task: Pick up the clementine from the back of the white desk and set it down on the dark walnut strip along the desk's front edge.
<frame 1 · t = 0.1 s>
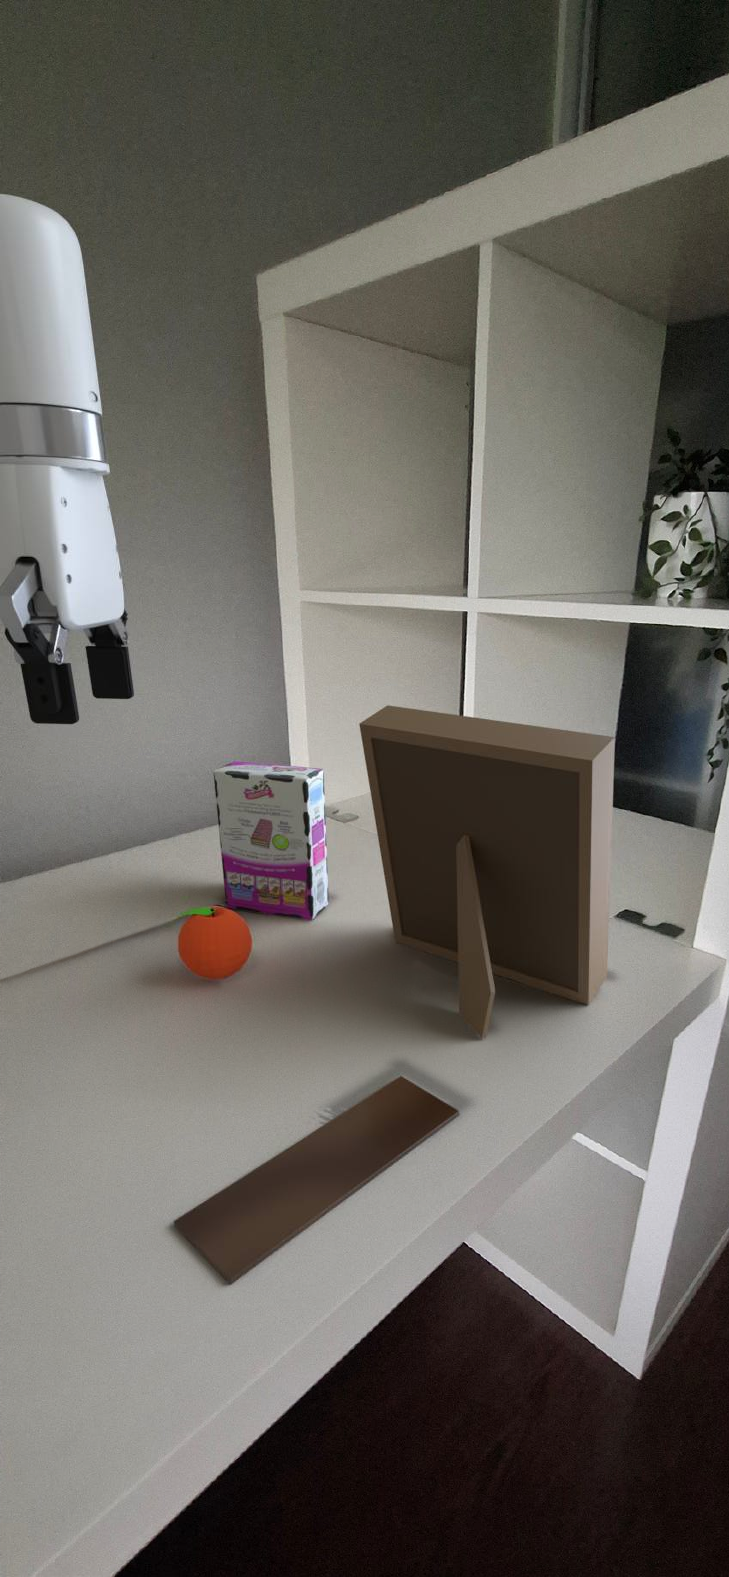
hand: (87, 709, 58), 27 cm above the table, tool pointing down, fingers open, 9 cm apart
edge strip: (329, 1165, 52), on the table
candy bar box: (277, 908, 90), on the table
clementine: (213, 976, 76), on the table
photo frame: (468, 986, 74), on the table
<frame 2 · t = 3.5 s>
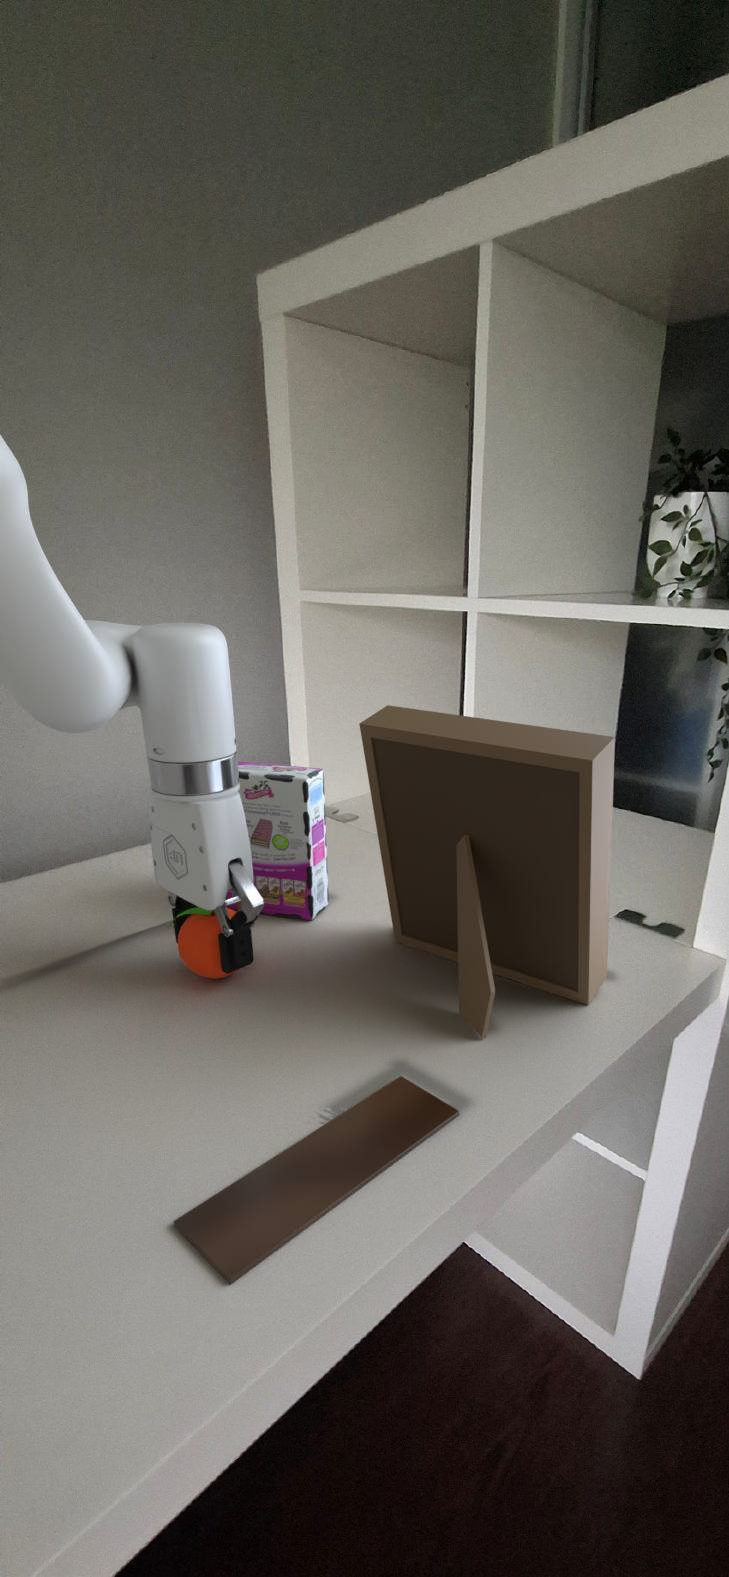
hand: (214, 952, 75), 2 cm above the table, tool pointing down, fingers closed on clementine, 7 cm apart
clementine: (213, 975, 76), on the table, touching gripper
everything else where it was.
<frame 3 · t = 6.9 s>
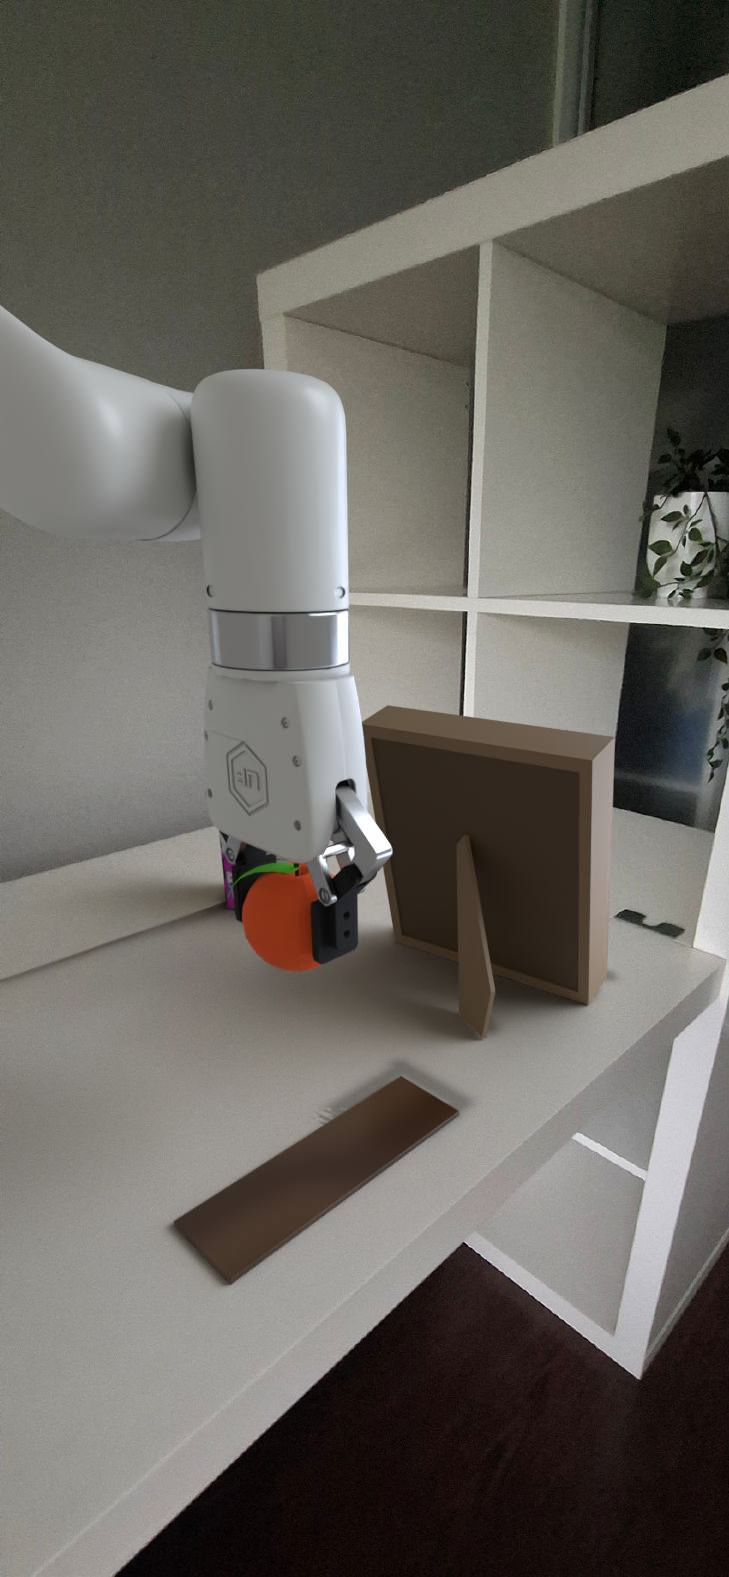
hand: (295, 933, 49), 16 cm above the table, tool pointing down, fingers closed on clementine, 7 cm apart
clementine: (291, 966, 51), point 13 cm above the table, touching gripper
everything else where it was.
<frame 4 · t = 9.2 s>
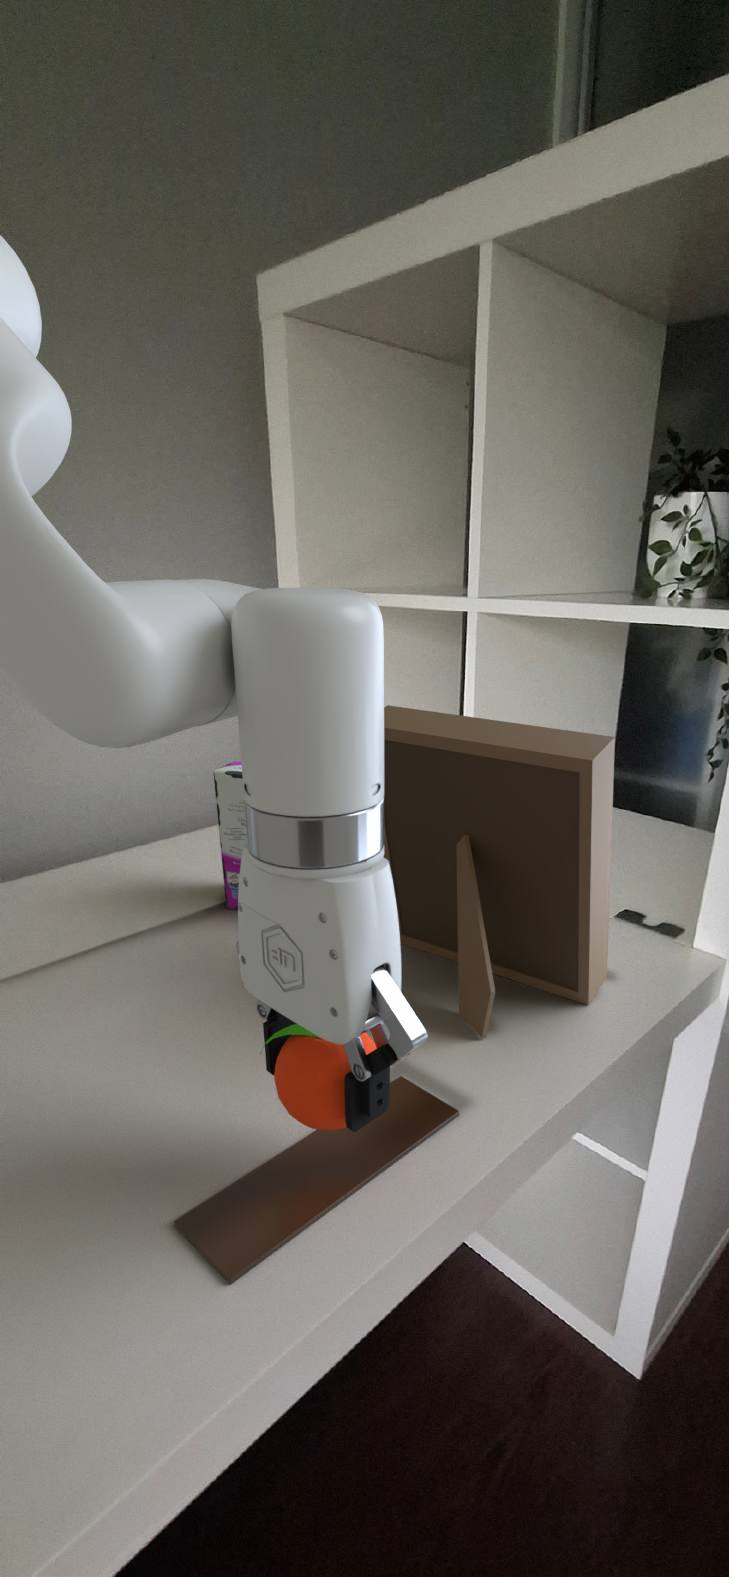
hand: (326, 1089, 50), 6 cm above the table, tool pointing down, fingers closed on clementine, 7 cm apart
clementine: (322, 1118, 51), point 4 cm above the table, touching gripper
everything else where it was.
when the fingers open (3 cm above the table, at t = 10.7 s): clementine stays where it is, resting on edge strip.
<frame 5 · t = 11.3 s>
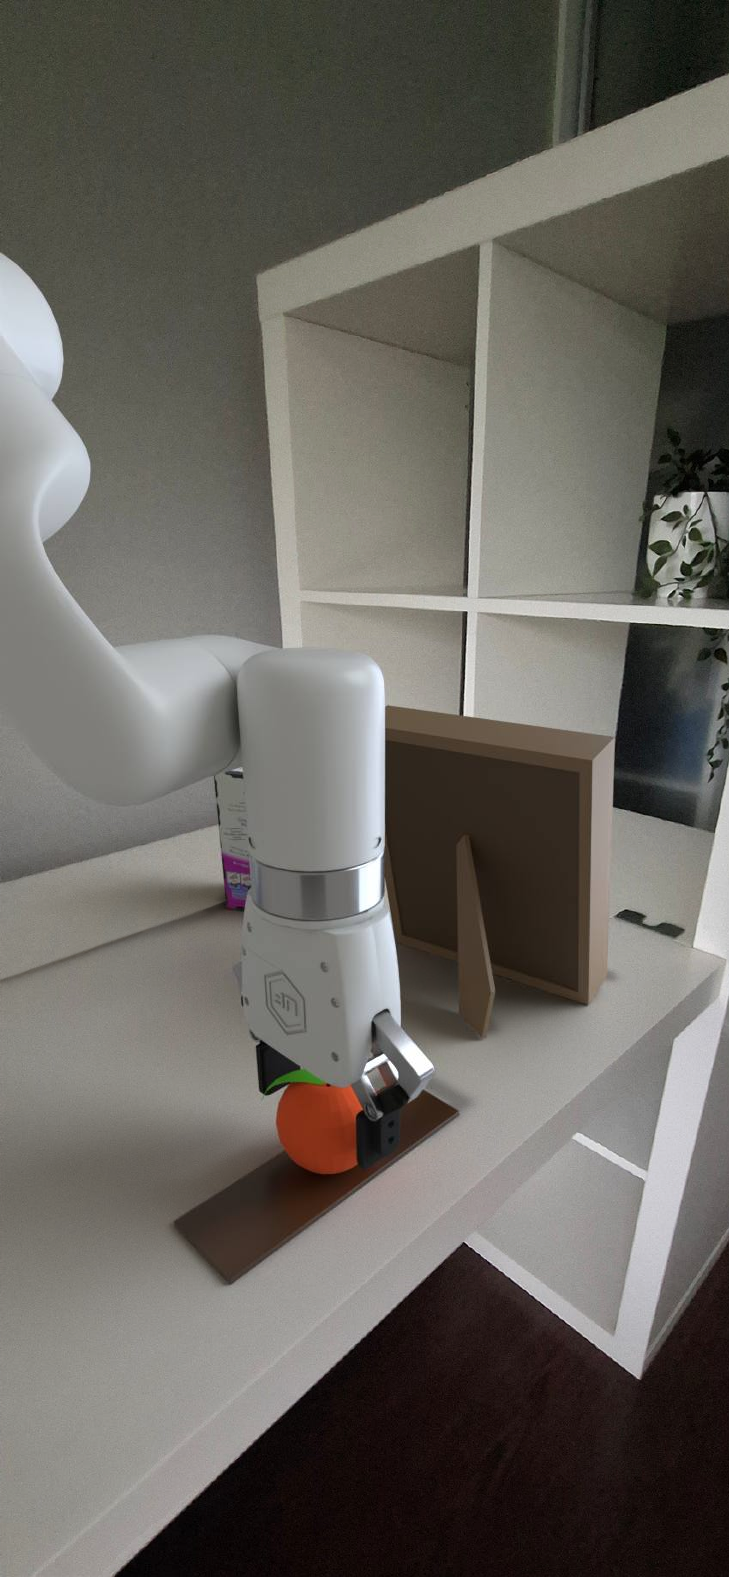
hand: (326, 1118, 51), 4 cm above the table, tool pointing down, fingers open, 9 cm apart
clementine: (323, 1160, 52), resting on edge strip
everything else where it was.
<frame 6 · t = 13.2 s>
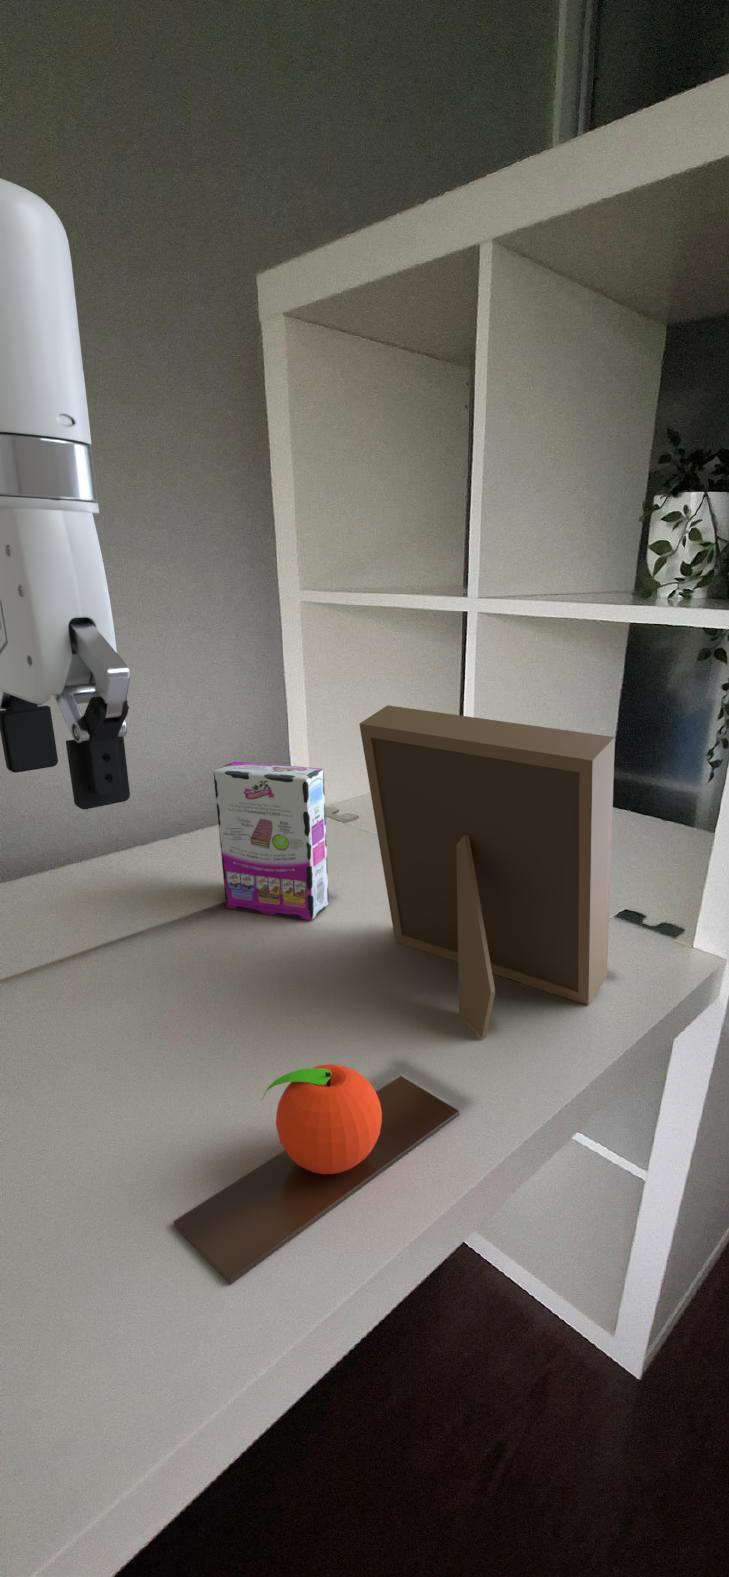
hand: (66, 785, 49), 24 cm above the table, tool pointing down, fingers open, 9 cm apart
nothing on the table moved.
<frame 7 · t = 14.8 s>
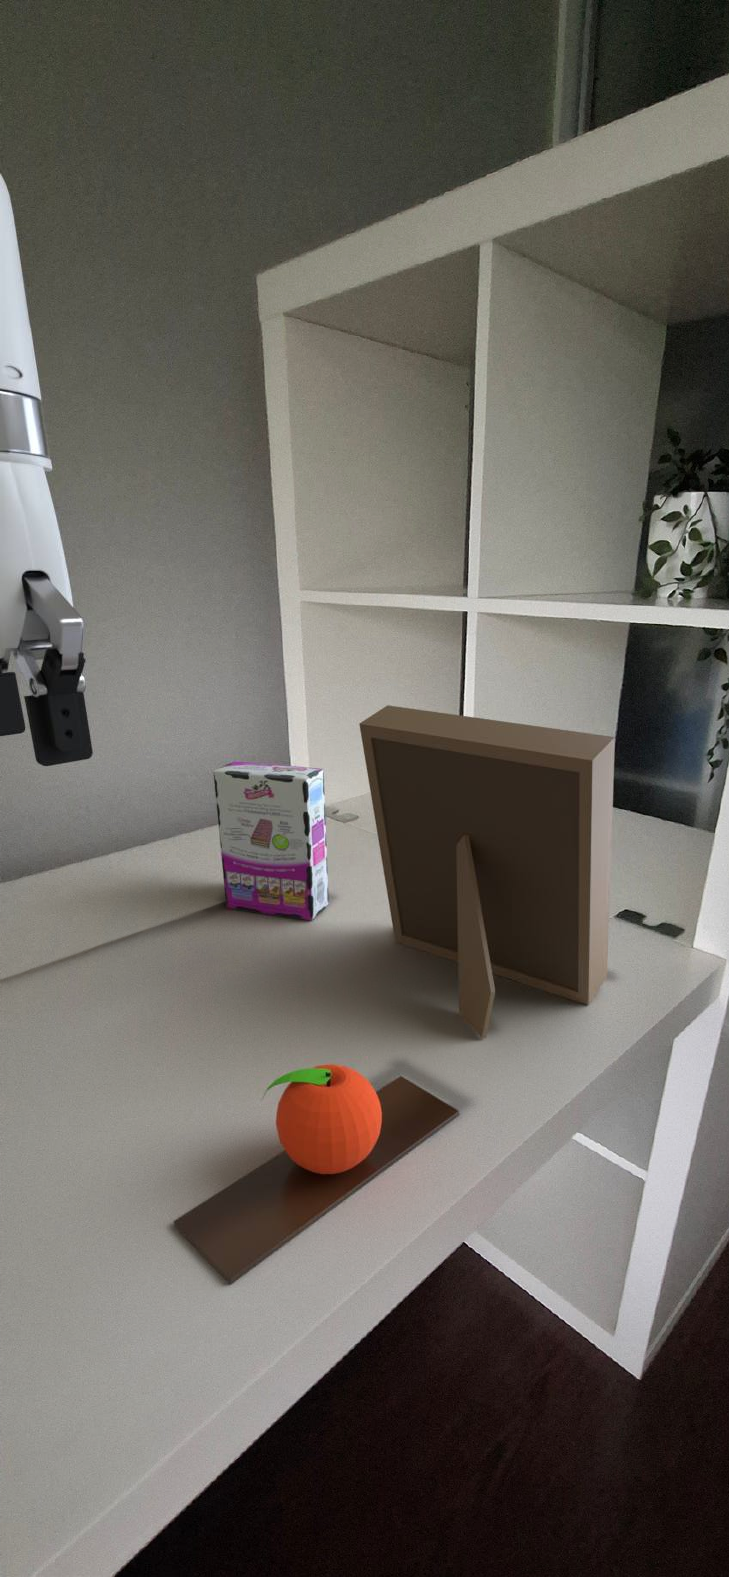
hand: (31, 747, 49), 26 cm above the table, tool pointing down, fingers open, 9 cm apart
nothing on the table moved.
at the end: clementine inside the target area on the edge strip (0.8 cm from its centre), point 0.2 cm above the edge strip's base; the gripper is holding nothing; clementine moved 28.5 cm from its start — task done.
